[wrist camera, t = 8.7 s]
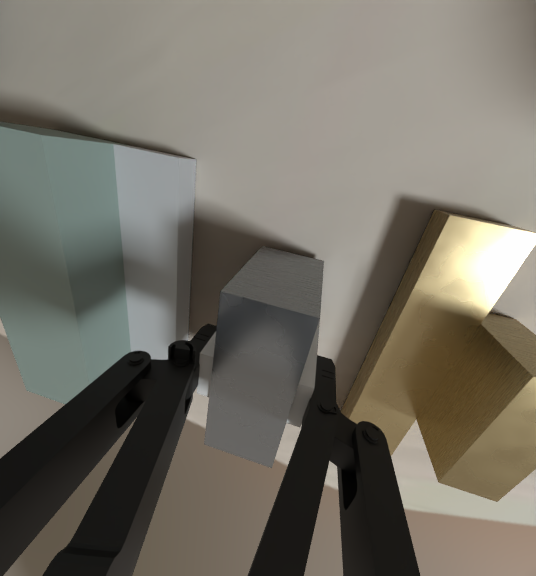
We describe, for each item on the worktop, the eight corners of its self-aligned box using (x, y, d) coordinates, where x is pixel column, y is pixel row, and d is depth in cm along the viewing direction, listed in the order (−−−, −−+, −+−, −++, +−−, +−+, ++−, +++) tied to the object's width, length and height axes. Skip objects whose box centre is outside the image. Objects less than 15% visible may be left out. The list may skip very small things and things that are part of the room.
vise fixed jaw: (91, 343, 25) (26, 390, 19) (55, 129, 17) (-74, 110, 11) (186, 373, 24) (144, 432, 18) (196, 159, 15) (126, 153, 10)
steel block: (242, 362, 21) (204, 444, 14) (262, 245, 16) (220, 291, 10) (289, 377, 20) (271, 468, 14) (323, 260, 16) (319, 318, 10)
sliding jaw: (336, 421, 22) (338, 502, 17) (434, 209, 14) (500, 233, 8) (419, 448, 21) (450, 541, 16) (576, 239, 13) (748, 287, 8)
